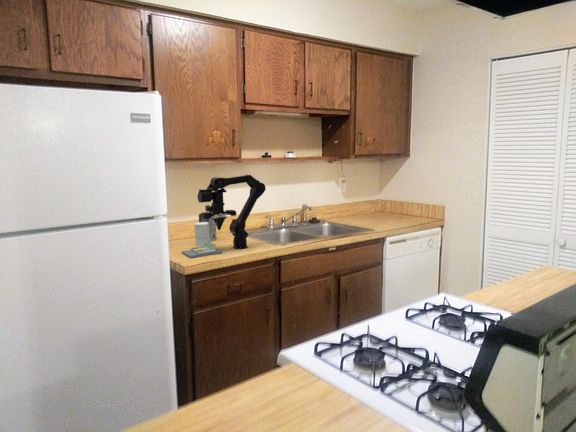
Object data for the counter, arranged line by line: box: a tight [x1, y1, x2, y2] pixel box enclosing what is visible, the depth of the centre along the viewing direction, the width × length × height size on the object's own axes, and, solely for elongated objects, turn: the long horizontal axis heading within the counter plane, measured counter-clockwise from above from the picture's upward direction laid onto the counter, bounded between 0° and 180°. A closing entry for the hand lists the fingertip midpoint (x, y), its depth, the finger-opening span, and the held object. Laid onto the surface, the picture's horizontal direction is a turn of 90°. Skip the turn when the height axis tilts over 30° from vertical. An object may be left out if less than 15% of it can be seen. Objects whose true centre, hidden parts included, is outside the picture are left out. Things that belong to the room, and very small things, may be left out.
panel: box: [190, 240, 217, 254], centre depth 222 cm, size 9×12×4 cm
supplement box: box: [194, 221, 211, 247], centre depth 243 cm, size 7×7×13 cm
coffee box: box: [198, 213, 217, 242], centre depth 256 cm, size 9×6×16 cm
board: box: [181, 245, 223, 259], centre depth 222 cm, size 18×13×4 cm
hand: (219, 230), depth 226 cm, fingers closed
